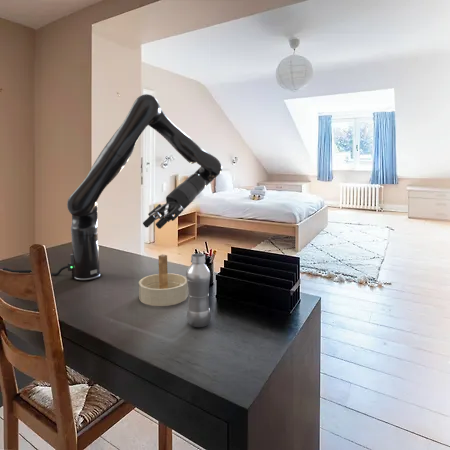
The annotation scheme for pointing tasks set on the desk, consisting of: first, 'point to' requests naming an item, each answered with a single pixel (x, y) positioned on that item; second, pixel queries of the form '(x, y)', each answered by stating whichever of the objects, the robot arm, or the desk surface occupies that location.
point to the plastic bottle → (198, 292)
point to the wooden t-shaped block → (163, 272)
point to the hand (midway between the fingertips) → (150, 226)
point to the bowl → (163, 290)
